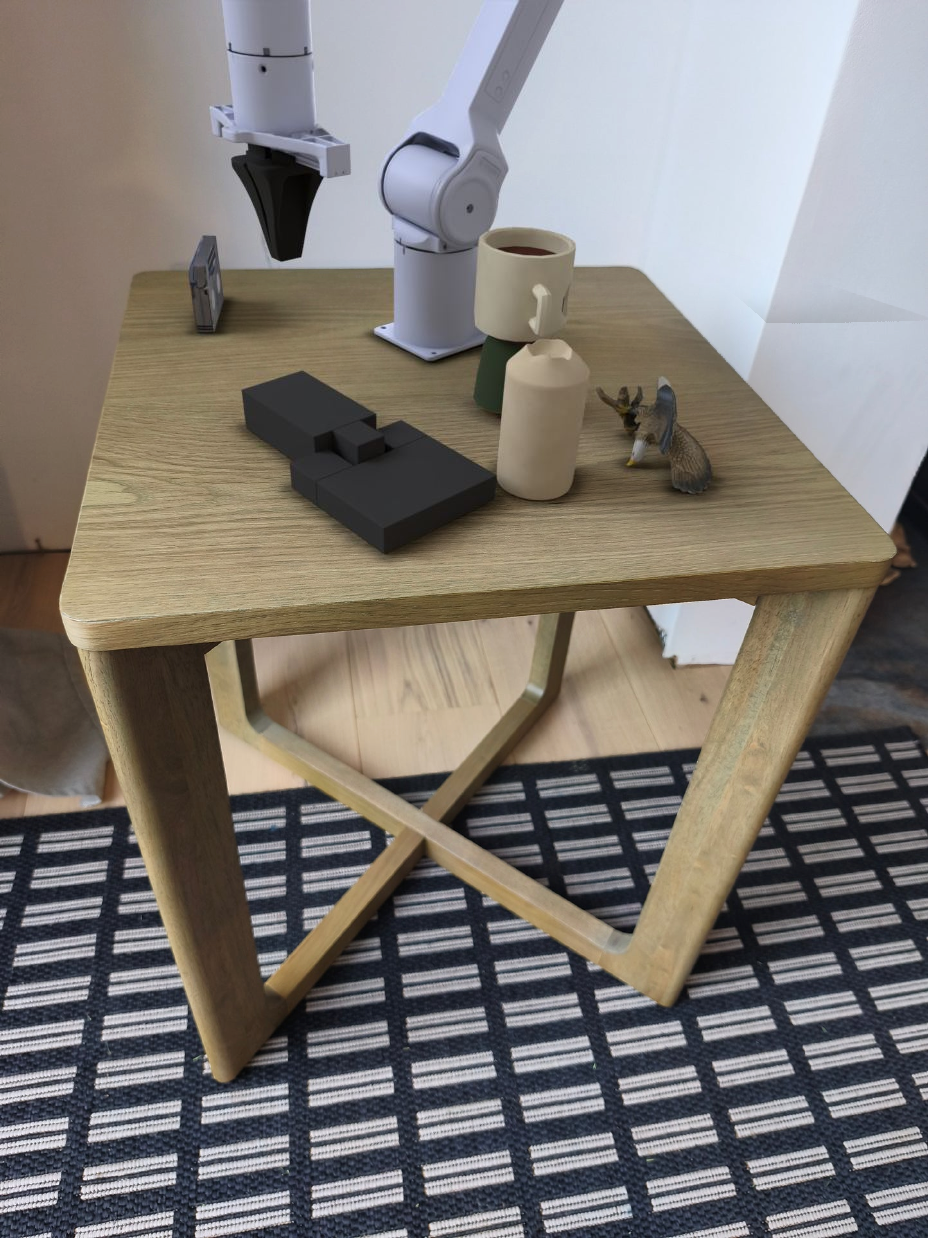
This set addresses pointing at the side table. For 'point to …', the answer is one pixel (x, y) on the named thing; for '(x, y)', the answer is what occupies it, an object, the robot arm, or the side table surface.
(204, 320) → the mini dv tape
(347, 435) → the black t-shaped block
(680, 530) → the side table surface
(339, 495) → the base pad
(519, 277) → the character mug
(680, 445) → the eagle figurine
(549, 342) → the beige bottle vase
